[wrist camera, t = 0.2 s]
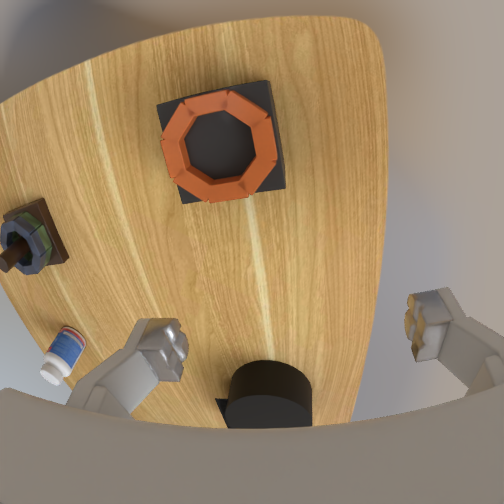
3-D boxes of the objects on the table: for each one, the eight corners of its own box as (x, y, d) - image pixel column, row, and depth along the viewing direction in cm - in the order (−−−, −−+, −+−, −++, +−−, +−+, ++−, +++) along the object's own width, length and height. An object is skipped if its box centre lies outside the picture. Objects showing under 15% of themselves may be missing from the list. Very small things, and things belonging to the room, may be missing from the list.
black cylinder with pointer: (311, 352, 42) (311, 392, 36) (313, 415, 50) (312, 449, 44) (215, 354, 45) (203, 391, 39) (237, 415, 53) (230, 447, 47)
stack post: (8, 211, 33) (-27, 238, 27) (43, 197, 32) (4, 227, 25) (32, 263, 38) (2, 294, 31) (69, 257, 36) (37, 293, 30)
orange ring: (158, 106, 20) (151, 108, 19) (264, 82, 19) (263, 82, 18) (183, 201, 24) (178, 208, 23) (282, 186, 23) (282, 193, 22)
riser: (179, 99, 25) (155, 105, 20) (269, 80, 24) (266, 79, 19) (200, 181, 30) (182, 204, 24) (285, 167, 28) (285, 188, 23)
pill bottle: (61, 320, 44) (34, 361, 36) (86, 334, 45) (61, 378, 36) (62, 338, 47) (38, 377, 38) (86, 351, 47) (64, 392, 39)
